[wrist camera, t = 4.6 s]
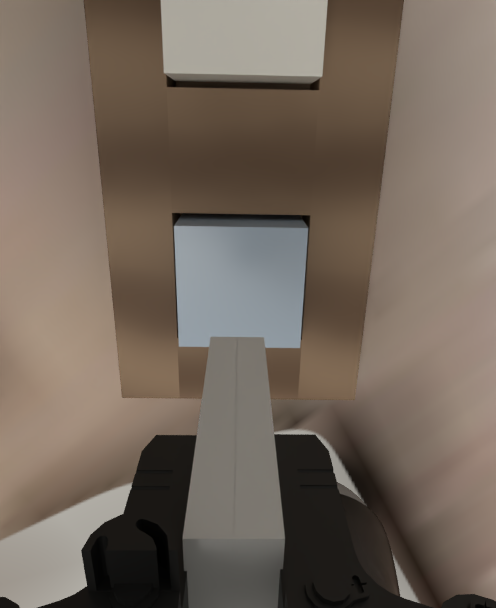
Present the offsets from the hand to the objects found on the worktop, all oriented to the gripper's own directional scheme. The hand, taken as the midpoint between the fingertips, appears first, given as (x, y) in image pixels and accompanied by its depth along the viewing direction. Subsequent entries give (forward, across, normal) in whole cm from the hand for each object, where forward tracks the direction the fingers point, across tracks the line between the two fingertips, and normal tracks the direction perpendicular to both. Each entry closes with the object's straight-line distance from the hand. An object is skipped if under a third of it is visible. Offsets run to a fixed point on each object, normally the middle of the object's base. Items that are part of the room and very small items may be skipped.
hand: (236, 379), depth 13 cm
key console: (+14, 0, +5) cm, 15 cm away
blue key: (+12, 0, -1) cm, 12 cm away
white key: (+11, 0, +11) cm, 16 cm away
